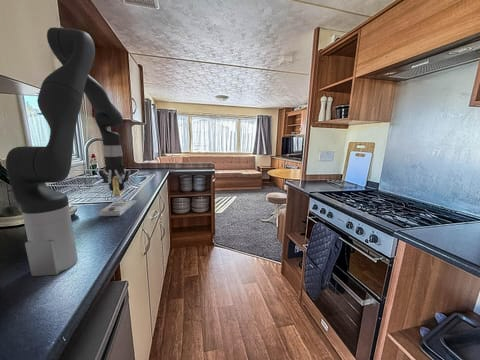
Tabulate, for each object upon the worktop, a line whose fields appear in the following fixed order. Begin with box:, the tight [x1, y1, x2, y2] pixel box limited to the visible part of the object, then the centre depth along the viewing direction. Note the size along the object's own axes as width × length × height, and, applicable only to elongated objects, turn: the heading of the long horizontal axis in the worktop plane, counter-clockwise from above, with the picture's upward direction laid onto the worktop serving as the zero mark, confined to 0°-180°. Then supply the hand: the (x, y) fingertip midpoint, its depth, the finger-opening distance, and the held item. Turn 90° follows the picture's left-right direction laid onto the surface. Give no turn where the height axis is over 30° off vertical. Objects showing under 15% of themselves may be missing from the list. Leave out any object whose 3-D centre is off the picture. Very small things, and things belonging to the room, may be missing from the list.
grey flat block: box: [99, 199, 137, 217], centre depth 104 cm, size 20×8×3 cm, turn 7°
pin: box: [112, 176, 123, 197], centre depth 101 cm, size 4×4×9 cm
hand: (117, 190), depth 101 cm, fingers closed on pin, 3 cm apart
